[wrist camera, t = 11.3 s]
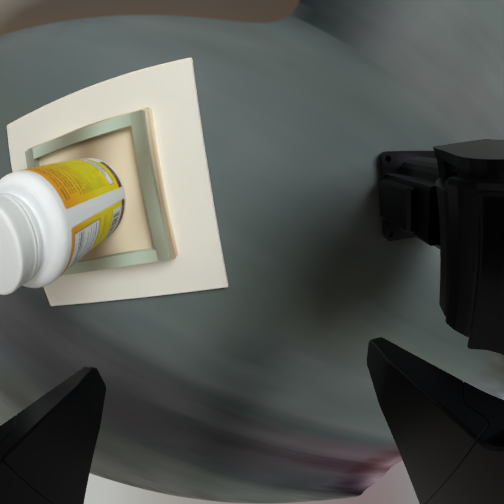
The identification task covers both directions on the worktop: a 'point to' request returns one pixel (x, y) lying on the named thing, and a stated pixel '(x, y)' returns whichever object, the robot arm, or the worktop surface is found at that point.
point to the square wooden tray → (134, 181)
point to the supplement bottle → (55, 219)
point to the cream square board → (173, 172)
